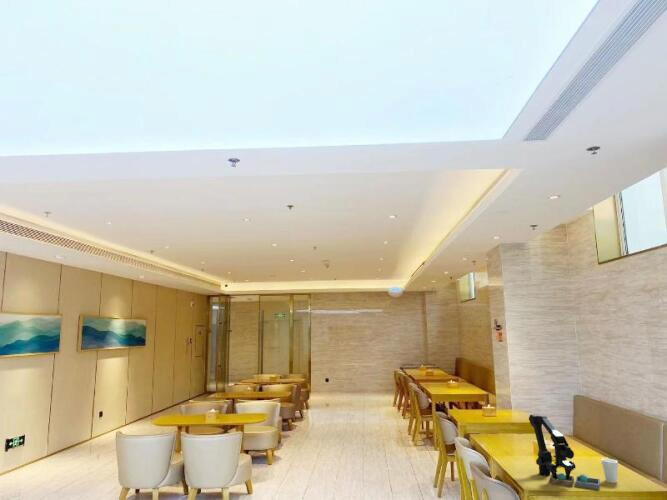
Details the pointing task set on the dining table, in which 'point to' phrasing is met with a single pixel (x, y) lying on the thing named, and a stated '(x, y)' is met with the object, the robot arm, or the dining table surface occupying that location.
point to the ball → (583, 478)
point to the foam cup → (610, 469)
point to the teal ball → (561, 476)
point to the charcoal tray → (588, 483)
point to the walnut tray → (562, 481)
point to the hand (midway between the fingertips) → (561, 479)
